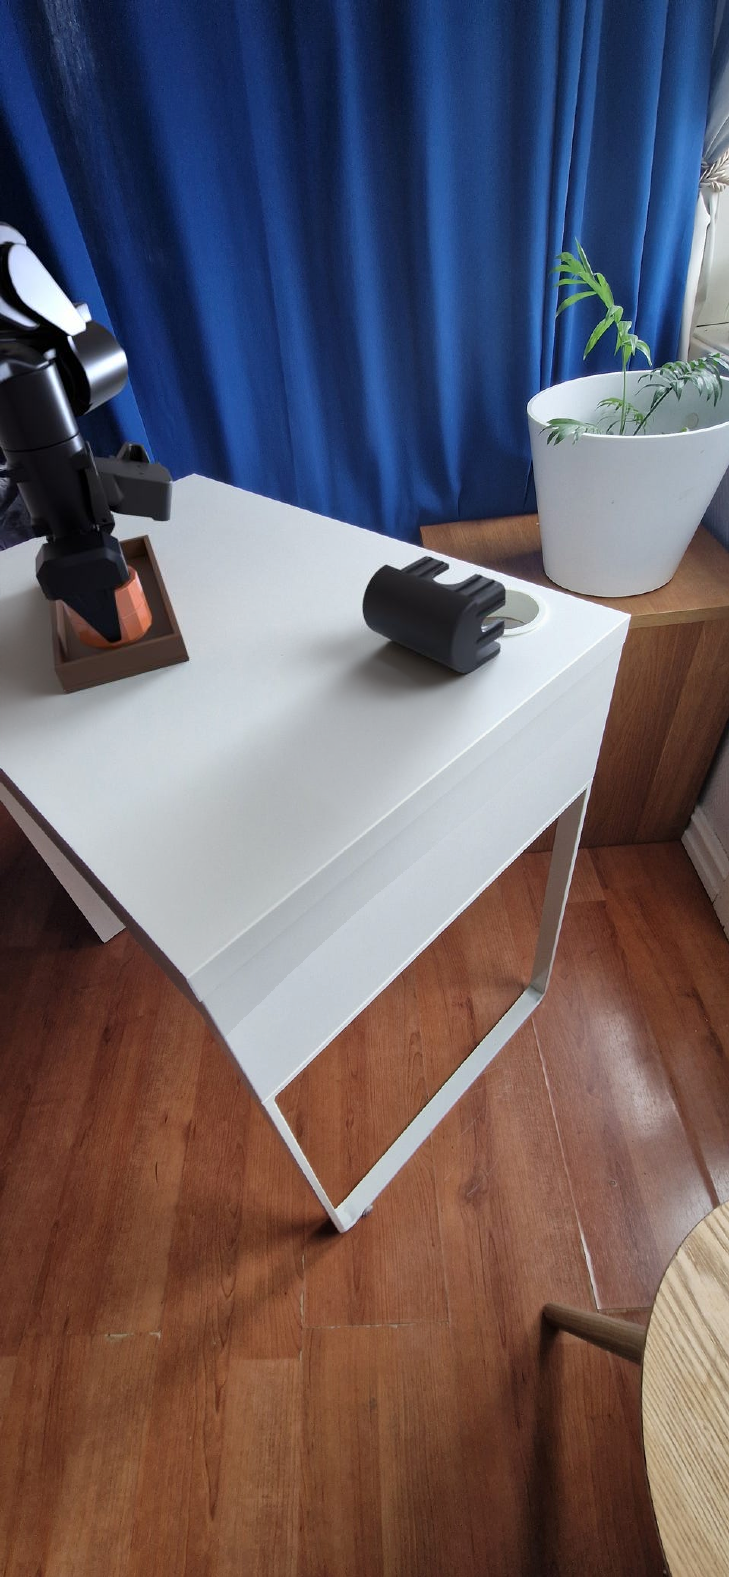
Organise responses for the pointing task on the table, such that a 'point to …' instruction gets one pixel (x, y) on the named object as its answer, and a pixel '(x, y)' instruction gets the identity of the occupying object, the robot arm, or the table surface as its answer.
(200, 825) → the table surface
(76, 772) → the table surface
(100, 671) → the tray
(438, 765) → the table surface
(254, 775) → the table surface
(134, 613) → the terracotta flower pot
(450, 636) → the end cap
